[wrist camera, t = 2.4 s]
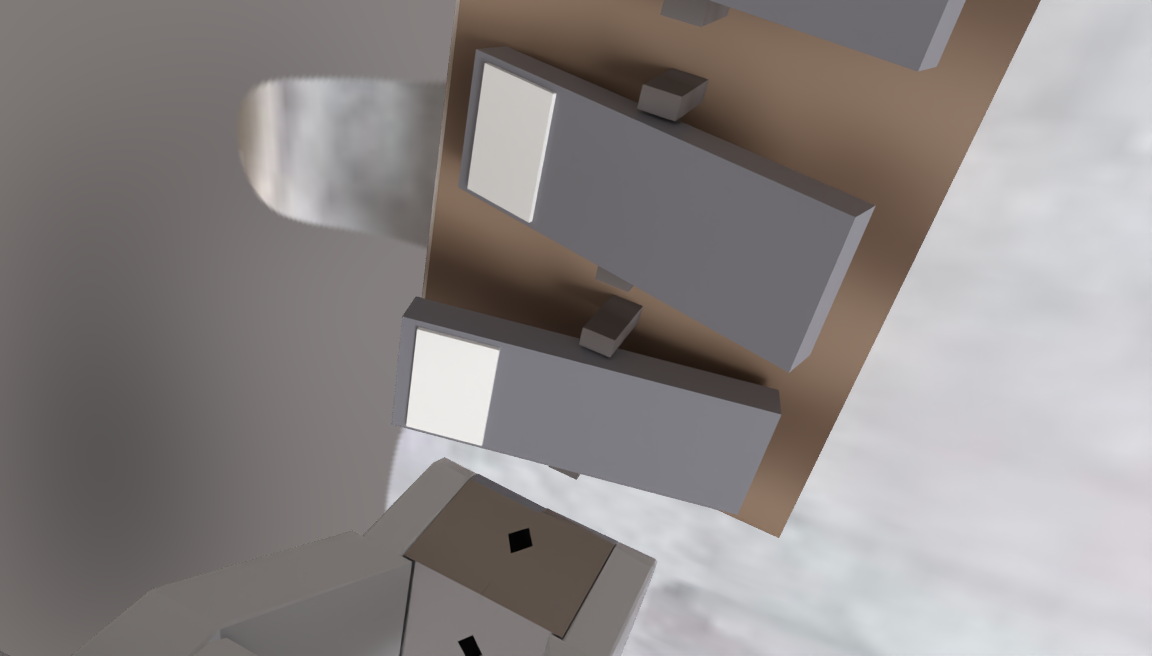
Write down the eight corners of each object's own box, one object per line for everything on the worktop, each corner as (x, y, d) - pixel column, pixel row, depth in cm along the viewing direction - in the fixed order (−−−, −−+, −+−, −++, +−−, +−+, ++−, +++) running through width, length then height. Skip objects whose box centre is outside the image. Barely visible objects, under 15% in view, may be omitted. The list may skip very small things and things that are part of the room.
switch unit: (794, 484, 28) (763, 588, 24) (448, 333, 32) (366, 400, 28) (1126, -210, 17) (1179, -251, 13) (540, -324, 21) (428, -387, 17)
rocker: (736, 488, 25) (737, 518, 24) (404, 401, 26) (390, 427, 25) (778, 389, 23) (781, 417, 22) (415, 296, 24) (400, 319, 22)
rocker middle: (810, 355, 19) (786, 374, 18) (486, 179, 24) (454, 187, 23) (875, 205, 17) (853, 218, 16) (506, 46, 22) (472, 49, 21)
